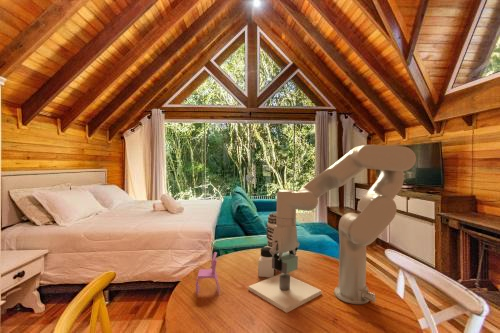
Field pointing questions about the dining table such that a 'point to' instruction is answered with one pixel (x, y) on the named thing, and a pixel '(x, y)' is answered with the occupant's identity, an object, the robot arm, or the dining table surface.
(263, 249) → the medicine bottle
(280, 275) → the post block
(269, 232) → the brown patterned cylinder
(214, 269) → the toy chair
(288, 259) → the sage green cube
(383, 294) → the dining table surface
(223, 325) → the dining table surface
